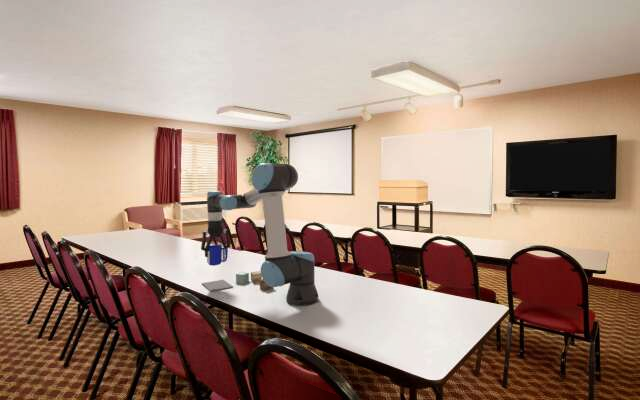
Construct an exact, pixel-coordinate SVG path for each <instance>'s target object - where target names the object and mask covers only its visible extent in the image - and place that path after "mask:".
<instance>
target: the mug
mask: <svg viewBox="0 0 640 400" xmlns="http://www.w3.org/2000/svg"><path fill="white" fill-rule="evenodd" d="M222 249H226V255H225V257H226V258H225V260H224V261H223V254H222ZM228 249H229V248H224V247H223V245H222V244H210V246H209V249H208V251H209V252H210V263H208V265H209V266H211V267H212V266H219V265H221V263H225V262H226V261H228V253H229V252H228Z"/></svg>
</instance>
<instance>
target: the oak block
mask: <svg viewBox="0 0 640 400" xmlns="http://www.w3.org/2000/svg"><path fill="white" fill-rule="evenodd" d="M260 279H263V278H262V276H261V270H260V271H259V270H256V271H250V282H252V283H253V284H254V283H256V284H257V283H260Z"/></svg>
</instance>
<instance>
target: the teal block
mask: <svg viewBox="0 0 640 400" xmlns="http://www.w3.org/2000/svg"><path fill="white" fill-rule="evenodd" d="M249 275H250V273H249V272H247V271H246V272H245V271H240V272H238V273H235V283H236V284H243V285H244V284H246V283H248V282H249V281H250V277H249Z"/></svg>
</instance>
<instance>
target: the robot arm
mask: <svg viewBox="0 0 640 400" xmlns="http://www.w3.org/2000/svg"><path fill="white" fill-rule="evenodd" d="M298 180H299V174H298V171H297V169H296V168H295V167H294V166H293V165H291V164H290V163H277V162H276V163H275V162H265V163H264V162H263V163H259V164H258V165H256V166H255V168H254V170H253V171H252V174H251V184H252V186H253V188H252V189H250V190H248V191H247V192H245V193H242V194H226V195H225V194H224V195H223V194H222V191H221V190H209V191H207V194H206V204H207V208H206V209H207V230H204V231H203V230H202V232H201V234H202V239H201V245H200V246H201V247H200V250H201V251H204V257H205V258H206V264H209V263H210V252H209V251H208V249H209V246H210V245H212V244H211V243H212V241H213V239H214V238H218V239H219V241H220V242H221V245H222V248H228V249H229V248H231V243H230V237H229V229H227V228H226V229H224V226H223V224H224V223H223V220H222V219H223V211H233V210H239V209H240V210H241V209H251V208H254V207H256V206H257V204H258V203H259V202H260V203H261V202H262V204H263V214H264V225H265V236H266V246H267V247H266V248H267V253H266V254H265V255H264V260H265V261H263V263H262V264H261V266H260V272H261V276H262V279H263V280H264V282H266V284H267V285H269V286H270V287H273V288H278V287H283V286H284V285H288V284H289V286H288V290H287V293H286V296H285V299H286V303H287V304H289V305H291V306H292V305H293V306H297V307H298V306H299V307H303V306H304V307H305V306H306V307H307V306H311V305H314V304H317V303H318V302H319V294H318V290H317V288H316V284H315V256H314V254H313V253H312V252H308V251H297V250H294V251H289V250H288V242H287V233H286V224H285V223H286V222H285V213H284V212H285V211H284V204H283V203H284V201H283V196H284V194H285V193H286V191H288V190H290V189H293V188H294V187H295V186H296V184H298ZM222 234H224V238H223V235H222ZM208 235H209V236H208ZM207 236H208V239H207ZM224 239H225V240H224ZM206 241H207V242H206ZM225 258H226V249H222V260H223V261H224V260H225Z"/></svg>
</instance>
